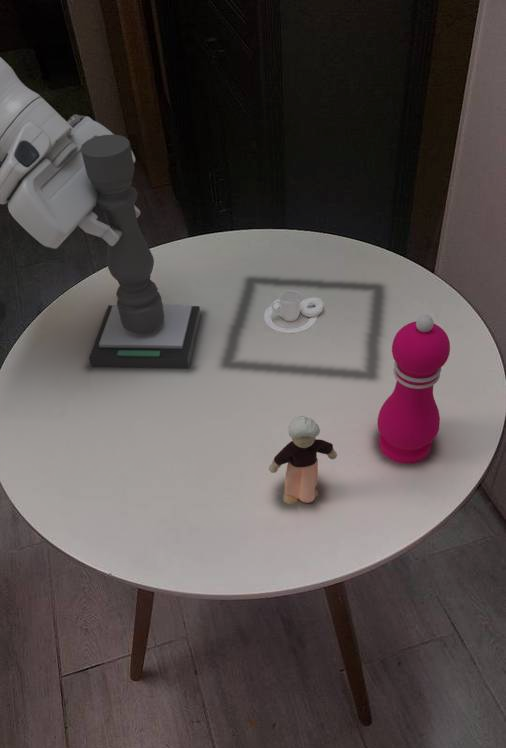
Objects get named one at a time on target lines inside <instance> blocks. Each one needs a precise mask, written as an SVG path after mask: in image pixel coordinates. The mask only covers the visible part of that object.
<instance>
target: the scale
mask: <svg viewBox="0 0 506 748" xmlns="http://www.w3.org/2000/svg"><path fill="white" fill-rule="evenodd" d="M162 305H163V310H164V321H163V322H162V324H161V325H160V326H159V327H157V328H156V329H154V330H152V331H148V332H145V333H135V332H131V331H128V330H127V329H125V328H124V327H123V325H122V323H121V319H120V315H119V311H118V307H117V304H110V305H107V308H106V311H105V314H104V316H103V319H102V322H101V324H100V327H99V330H98V333H97V335H96V337H95V340H94V343H93V345H92V348H91V351H90V354H89V357H88V359H89V362H90V366H91V368H124V369H125V368H126V369H128V368H129V369H180V370H183V369H184V370H186V369H188V370H189V369H190V366H191V361H192V356H193V351H194V348H195V343H196V340H197V339H196V338H197V334H198V329H199V325H200V321H201V316H202V315H201V307H200V305H191V304H162Z"/></svg>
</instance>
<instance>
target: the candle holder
mask: <svg viewBox="0 0 506 748" xmlns="http://www.w3.org/2000/svg"><path fill="white" fill-rule="evenodd" d="M130 142H131V141H130V140H129V139H128V138H127V137H125V136H123V135H119V134H114V135H102V136H97V137H94V138H92V139H89V140H87V141H86V142H85V143H84V144H82V147H81V153H82V157H83V161H84V165H85V169H86V173H87V176H88V178H89V179H90V180H91V182H92V184H93V186H95V187H96V189H97V191H99V193H98V194H97V201H96V202H97V205H96V206H97V207H98V208H100V209H101V210H102V211H103V214H104V219H105V224H106V225H109V226H111V225H112V224H114V225H115V226H117V227H118V229H119V230H121V231H122V233H123V235H122V237H121V238H120V239H119V240H118V242H117V243H116V244H115V245H114V246H111V245H109V244H108V243H107V242H106V244H107V245H106V246H107V248H106V249H107V251H106V266H107V268H108V269H107V270H108V271H109V273H110V275H111V276H112V277H113V279H115V280H116V281H117V283H118V285H119V286H118V287H117V290H116V292H115V293H116V298H117V301H116V305H117V307H118V311H119V315H120V319H121V323H122V325H123V327H124V328H125V329H127V330H128V331H131V332H135V333H145V332H148V331H152V330H154V329H156V328H157V327H159V326H160V325H161V324H162V322H163V321H164V310H163V305H164V304H163V300H162V296H161V294H160V292H159V291H158V290H159V287H157V284H156V282H155V281H152V279H151V277H152V276H151V275H152V273H153V270H154V265H155V260H154V256H153V253H152V251H151V249H150V247H149V245H148V243H147V240H146V239H145V237H144V235H143V232H142V230H141V228H140V226H139V223H138V217H136V212H135V207H134V205H135V203H136V202H137V199H138V195H139V194H138V191H137V190H136V188H135V187H133V186H132V182H133V179H134V173H135V163H134V162H133V157H132V152H133V151H132V152H131V150H132V147H131V143H130Z"/></svg>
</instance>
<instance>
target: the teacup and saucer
mask: <svg viewBox="0 0 506 748" xmlns="http://www.w3.org/2000/svg"><path fill="white" fill-rule="evenodd" d="M278 308H279V309H280V312H278V311H277V309H278ZM324 308H325V303H324V301H323V299H321V298H320V297H308V298H305V299H304V300H302V297H301V293H300V292H298V291H297V290H293V289H292V290H291V289H289V290H284V291H282V292H281V293H280V294H279V297H278V299H275V300H273V301H272V303H271V305H269V306H268V307H267V308H266V310H265V311H264V314H263V321H264V323H265V325H266V326H267V327H268V328H270V329H271V330H273V331H275V332H278V333H280V334H281V333H282V334H298V333H301V332H304V331H307V330H308V329H311V328H312V327H313V326H314V325H315V324H316V322H317V319H318V315H320V314H321V313H322V312H323V310H324ZM273 312H274V313H275V314H276V315H278V316H279V317H281V318H282V319H283V320H284V321H286V322H294V321H297V320H298V318H299V316H300V314H301V315H302V316H304V317H307V318H309V319H308V321H307V322H306V323H305V324H303V325H301V326H299V327H295V328H285V327H280V326H278V324H277V325H276V324H275V322H273V320H272V314H273Z"/></svg>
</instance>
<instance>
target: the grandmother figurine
mask: <svg viewBox="0 0 506 748" xmlns="http://www.w3.org/2000/svg"><path fill="white" fill-rule="evenodd" d="M287 428H288V435H289V437H290V438H291V441H290V442H288V443H287V444H286V445H285V446H284V447H283V448H282V449H281V450H280V451H279V452H278V453H277V454H276V455H275V456H274V458H273V459H272V462H271V464H270V465H269V467H268V471H269V472H270V473H272V474H275V473H277V472H278V470H279V469H280V468H281V466H283V465H284V464H286V465H287V466H286V469H285V475H284V476H285V477H284V488H283V489H284V493H283V499H282V500H283V502H284V503H285V504H288V505H294V504H295V503H297V502H298V500H299V501H300V502H302V503H307V504H309V503H312V502H315V498H317V497H318V496H319V491H318V489H317V488H316V487H317V484H318V475H319V463H318V462H319V459H318V455H317V454H318V453H319V454H321V455H327V458H328V459H330V460H335V459H336V458H337V457H338V453H337V452H336V451H335V449H334V445H333V443H332V442H329V441H326V440H324V439H320V438H319V439H317V438H316V437H318V436H319V434H320V432H321V428H320V426H319V425H318V423H317V422H316V421H315V420H314V419H312V418H310V417H308V416H305V415H301V416H298V417H294V418H292V420H291V421H290V423H289V424H288V427H287Z"/></svg>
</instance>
